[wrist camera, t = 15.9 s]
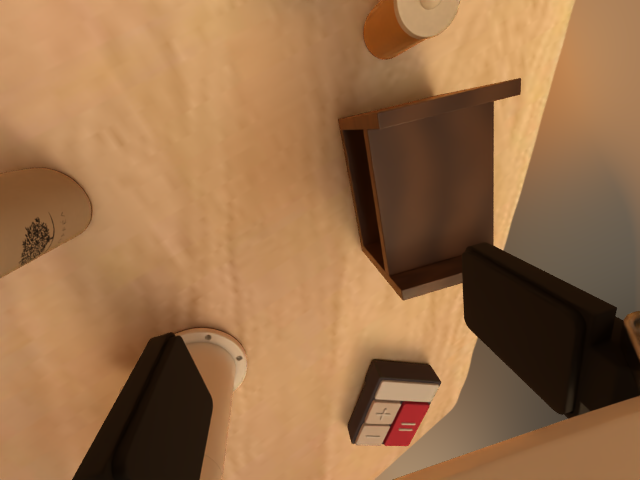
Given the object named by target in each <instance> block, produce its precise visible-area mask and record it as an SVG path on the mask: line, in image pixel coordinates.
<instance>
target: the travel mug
mask: <svg viewBox="0 0 640 480" xmlns="http://www.w3.org/2000/svg"><path fill="white" fill-rule="evenodd" d="M90 219H91V205H90V202H89V199H88V197H87V195H86V193H85V192H84V191H83V189H82V188H81V187H80V186H79V185H78V184H77V183H76V182H75V181H74V180H72V179H71V178H69V177H68V176H66V175H64V174H62V173H60V172H58V171H55V170H51V169H46V168H30V169H24V170H17V171H11V172H5V173H0V278H2V277H3V276H5V275H7V274H9V273H11V272H12V271H14V270H16V269H18V268H20V267H22V266H23V265H25V264H27V263H29V262H31V261H32V260H34V259H36V258H38V257H40V256H41V255H43V254H45V253H47V252H49V251H50V250H52V249H54V248H56V247H58V246H59V245H61V244H63V243H65V242H67V241H68V240H70V239H72V238H74V237H76V236H78V235H79V234H81V233H82V232H83V231H84V230H85V229H86V228H87V226H88V224H89V222H90Z"/></svg>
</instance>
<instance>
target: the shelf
mask: <svg viewBox="0 0 640 480" xmlns="http://www.w3.org/2000/svg"><path fill="white" fill-rule="evenodd" d="M520 92H521V78H518V79H514V80H509V81H504V82H499V83H494V84H490V85H485V86H480V87H475V88H471V89H466V90H461V91H456V92H451V93H447V94H442V95H437V96H432V97H428V98H424V99H420V100H416V101H412V102H408V103H404V104H399V105H395V106H391V107H387V108H383V109H379V110H375V111H370V112H366V113H362V114H358V115H354V116H350V117H346V118H342V119H338V121H339V127H340V132H341V137H342V143H343V148H344V154H345V159H346V165H347V170H348V175H349V181H350V186H351V192H352V197H353V203H354V208H355V213H356V219H357V224H358V230H359V235H360V241H361V246H362V251H363V252H364V253H365V255H366V256H367V257H368V258H369V259H370V261H371V262H372V263H373V264H374V266H375V267H376V268H377V269H378V270H379V272H380V273H381V274H382V275H383V277H384V278H385V279H386V280H387V282H388V283H389V284H390V285H391V286H392V288H393V289H394V290H395V291H396V293H397V294H398V295H399V296H400V298H401V299H402V300H407V299H410V298H413V297H417V296H420V295H423V294H427V293H430V292H433V291H437V290H440V289H443V288H447V287H450V286H453V285H457V284H460V283H463V278H462V253H464V252H465V250H466V248H467V247H468V246H472V245H475V244H479V243H482V242H486V243H489V244H491V245H493V152H494V101H496V100H500V99H504V98H508V97H512V96H516V95H520Z"/></svg>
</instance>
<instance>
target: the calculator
mask: <svg viewBox="0 0 640 480" xmlns="http://www.w3.org/2000/svg"><path fill="white" fill-rule="evenodd" d="M440 384H441V381H440V380H439V378H438V376H437V375H436V373H435V372H434V370H433V369H432V367H431V366H430V365H424V364H413V363H402V362H391V361H379V360H373V361H372V363H371V365H370V368H369V370H368V372H367V375H366V378H365V385H364V388H363V390H362V393H361V395H360V397H359V400H358V402H357V405H356V407H355V409H354V412H353V414H352V417H351V419H350V421H349V424H348V431H349V435H350V439H351V442H352V443H353V444H356V445H372V446H380V445H381V444H384V445H385V446H408V445H409V444H410V442H411V440H412V438H413V436H414V435H415V433H416V431H417V429H418V427H419V425H420V423H421V422H422V420H423V418H424V416H425V414H426V412H427V410H428V408H429V406H430V403H431V401H432V399H433V397H434V396H435V394H436V392H437V390H438V388H439V386H440Z"/></svg>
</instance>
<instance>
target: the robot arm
mask: <svg viewBox="0 0 640 480" xmlns="http://www.w3.org/2000/svg"><path fill="white" fill-rule="evenodd" d="M462 278H463V301H464V319H465V322H466V324H467V326H468V328H469V329H470V330H471V331H472V332H473V333H474V334H475V335H476V336H477V337H478V338H480V339H481V340H482V341H483V342H484V343H485V344H486V345H487V346H488V347H489V348H490V349H491V350H492V351H493V352H494V353H495V354H496V355H497V356H498V357H499V358H500V359H501V360H502V361H503V362H504V363H505V364H506V365H508V366H509V367H510V368H511V369H512V370H513V371H514V372H515V373H516V374H517V375H518V376H519V377H520V378H521V379H522V380H523V381H524V382H525V383H526V384H527V385H528V386H529V387H530V388H531V389H532V390H533V391H534V392H535V393H536V394H537V395H539V396H540V397H541V398H542V399H543V400H544V401H545V402H546V403H547V404H548V405H549V406H550V407H551V408H552V409H553V410H554V411H556V412H557V413H559V414H562V415H563V414H564V415H565V416H566V417H567V418H568V419H567V420H563V421H561V422H558V423H555V424H552V425H549V426H546V427H543V428H540V429H537V430H534V431H532V432H528V433H526V434H523V435H520V436H517V437H514V438H511V439H508V440H505V441H502V442H499V443H496V444H493V445H490V446H488V447H485V448H482V449H479V450H476V451H473V452H470V453H467V454H465V455H462V456H459V457H456V458H453V459H450V460H447V461H444V462H442V463H439V464H436V465H433V466H430V467H427V468H424V469H422V470H419V471H416V472H413V473H410V474H407V475H404V476H401V477H399V478H396V479H393V480H640V311H636V312H633V313H631V314H628V315H627V316H626V317H625V319H624V321H623V320H621V319H619V318H617V317H616V316H615V315H616V310H617V307H615V306H613V305H611V304H609V303H607V302H605V301H603V300H600V299H599V298H597V297H594V296H593V295H591V294H589V293H587V292H585V291H583V290H581V289H579V288H577V287H575V286H573V285H571V284H569V283H567V282H565V281H563V280H561V279H559V278H557V277H555V276H553V275H550V274H549V273H547V272H545V271H543V270H541V269H539V268H537V267H535V266H533V265H531V264H529V263H527V262H525V261H523V260H521V259H519V258H517V257H515V256H513V255H511V254H509V253H507V252H505V251H503V250H501V249H499V248H497V247H495V246H493V245H491V244H489V243H486V242H482V243H479V244H475V245H472V246H468V247H467V248H466V250H465V252H464V253H462ZM246 371H247V356H246V353H245V350H244V349H243V347H242V346H241V344H240V343H239V342H238V341H237V340H236V339H235V338H233V337H232V336H230V335H229V334H226V333H224V332H222V331H219V330H215V329H209V328H194V329H189V330H184V331H182V332H179V333H176V334H173V333H167V334H164V335H160V336H157V337H154V338H151V339H150V340H149V342H148V344H147V346H146V347H145V349H144V351H143V353H142V355H141V356H140V358H139V360H138V362H137V364H136V365H135V367H134V369H133V371H132V373H131V374H130V376H129V378H128V380H127V382H126V383H125V385H124V386H123V387H122V388H121V389H120V394H119V396H118V398H117V400H116V402H115V403H114V405H113V407H112V409H111V411H110V412H109V414H108V416H107V418H106V420H105V421H104V423H103V425H102V427H101V429H100V430H99V432H98V434H97V436H96V438H95V439H94V441H93V443H92V445H91V447H90V448H89V450H88V452H87V454H86V456H85V457H84V459H83V461H82V463H81V465H80V466H79V468H78V470H77V472H76V474H75V475H74V477H73V479H72V480H222V477H223V469H224V461H225V453H226V445H227V437H228V428H229V420H230V412H231V404H232V396H233V392H234V391H235V390H236V389H237V388H238V387H239V386H240V385H241V383H242V382H243V380H244V378H245V375H246Z"/></svg>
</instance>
